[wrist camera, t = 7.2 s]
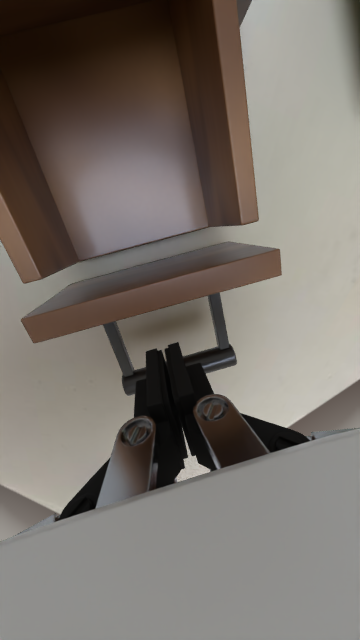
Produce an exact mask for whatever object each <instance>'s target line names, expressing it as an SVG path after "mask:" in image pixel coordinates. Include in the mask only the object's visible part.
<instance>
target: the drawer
mask: <svg viewBox="0 0 360 640" xmlns="http://www.w3.org/2000/svg"><path fill="white" fill-rule="evenodd" d="M258 220H259V217H258V207H257V197H256V188H255V178H254V168H253V158H252V148H251V138H250V128H249V118H248V108H247V99H246V89H245V79H244V69H243V59H242V49H241V39H240V29H239V19H238V10H237V0H1V1H0V240H1V241H2V243H3V245H4V247H5V249H6V251H7V253H8V255H9V257H10V259H11V261H12V263H13V265H14V267H15V268H16V270H17V272H18V274H19V276H20V278H21V280H22V282H23V283H29V282H33V281H37V280H40V279H43V278H45V277H47V276H50V275H52V274H54V273H56V272H58V271H60V270H63V269H65V268H67V267H69V266H71V265H73V264H76V263H78V262H80V261H84V260H88V259H92V258H95V257H99V256H103V255H107V254H110V253H114V252H118V251H122V250H125V249H129V248H133V247H137V246H140V245H144V244H148V243H152V242H155V241H159V240H163V239H167V238H170V237H174V236H178V235H182V234H185V233H189V232H193V231H197V230H200V229H204V228H208V227H219V226H238V225H245V224H249V223H253V222H257V221H258ZM281 274H282V273H281V259H280V249H276V248H269V247H262V246H255V245H248V244H241V243H234V242H225V243H222V244H218V245H214V246H210V247H207V248H203V249H199V250H196V251H192V252H188V253H185V254H181V255H177V256H173V257H170V258H166V259H162V260H159V261H155V262H151V263H147V264H144V265H140V266H136V267H133V268H129V269H125V270H122V271H118V272H114V273H110V274H107V275H103V276H99V277H96V278H92V279H88V280H84V281H81V282H77V283H73V284H70V285H69V286H68V287H66V288H65V289H63V290H62V291H61V292H59V293H58V294H56V295H55V296H53V297H52V298H51V299H49V300H48V301H46V302H45V303H43V304H42V305H41V306H39V307H38V308H36V309H35V310H34V311H32V312H31V313H29V314H28V315H26V316H25V317H24V318H22V319H21V322H22V323H23V325H24V327H25V329H26V331H27V332H28V334H29V336H30V338H31V339H32V341H33V343H38V342H42V341H45V340H49V339H53V338H56V337H60V336H63V335H67V334H71V333H74V332H78V331H82V330H85V329H89V328H92V327H96V326H100V325H103V326H104V328H105V331H106V333H107V336H108V338H109V341H110V343H111V345H112V348H113V350H114V353H115V355H116V358H117V360H118V362H119V365H120V367H121V370H122V372H123V375H122V384H123V388H124V391H125V393H126V395H128V396H130V395H133V394H135V389H136V381H138V380H141V379H145V378H146V367H144V368H141V369H137V370H134V367H133V365H132V362H131V360H130V357H129V354H128V352H127V349H126V347H125V344H124V341H123V339H122V336H121V334H120V331H119V328H118V326H117V323H116V321H118V320H121V319H125V318H129V317H132V316H136V315H139V314H143V313H147V312H150V311H154V310H157V309H161V308H165V307H168V306H172V305H176V304H179V303H183V302H186V301H190V300H194V299H197V298H201V297H204V296H208V301H209V306H210V311H211V316H212V320H213V325H214V330H215V335H216V340H217V345H218V347H215V348H211V349H208V350H204V351H201V352H197V353H194V354H190V355H186V356H183V359H184V362H185V366H189V365H192V364H196V363H199V362H200V363H201V365H202V367H203V369H204V372H205V374H206V373H210V372H213V371H217V370H220V369H224V368H227V367H231V366H234V365H236V364H237V360H236V355H235V352H234V350H233V347H232V346H231V344H229V342H228V336H227V331H226V325H225V320H224V315H223V309H222V304H221V298H220V293H219V292H223V291H226V290H230V289H233V288H237V287H241V286H244V285H248V284H252V283H255V282H259V281H262V280H266V279H270V278H273V277H277V276H280V275H281ZM165 362H166V366H167V361H165ZM167 369H168V366H167ZM168 372H169V371H168Z"/></svg>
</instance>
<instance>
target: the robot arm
mask: <svg viewBox="0 0 360 640" xmlns="http://www.w3.org/2000/svg"><path fill="white" fill-rule="evenodd" d="M165 354H166V360H167V366H168V369H167V366H166V362H165V359H164V356H163V353H162V350H159V351H158V350H157V348H156V349H153V350H149V351H146V378H145V379H141V380H138V381H136V389H135V407H134V418H132V419H131V420H129V421H127V422H126V423H125V424H124V425H123V426H122V427H121V429H120V430H119V432H118V434H117V437H116V441H115V444H114V447H113V451H112V454H111V457H110V458H109V460H108V461H107V462H106V463H105V464H104V465H103V466H102V467H101V468H100V469H99V470H98V471H97V473H96V474H95V475H94V476H93V477H92V478H91V479H90V480H89V481H88V482H87V483H86V484H85V486H84V487H83V488H82V489H81V490H80V491H79V492H78V493H77V494H76V495H75V496H74V497H73V499H72V500H71V501H70V502H69V503H68V504H67V506H66V507H65V508H64V510H63V511H62V513H61V515H59V516H57V514H56V513H55V514H53V515H51V516H50V517H48V518H46V519H44V520H42V521H40V522H38V523H37V524H35V525H33V526H31V527H29V528H28V529H26V530H24V531H22V532H20V533H18V534H17V535H15V536H13V537H11V538H8V539H6V540H3V541H0V640H360V428H354V429H342V430H331V431H319V432H311V436H304V435H303V434H301V433H299V432H296V431H294V430H291V429H288V428H285V427H281V426H278V425H275V424H272V423H269V422H266V421H263V420H260V419H257V418H254V417H251V416H248V415H244V414H241V413H239V411H238V410H237V409H236V407H235V406H234V405H233V403H232V402H231V401H230V400H229V399H228V398H227V397H225V396H223V395H218V394H214V392H213V390H212V388H211V385H210V383H209V381H208V379H207V376H206V374H205V372H204V369H203V367H202V365H201V363H200V362H199V363H196V364H192V365H189V366H185V362H184V359H183V356H182V353H181V349H180V346H179V343H178V342H177V343H173V344H170V345H168V348H166V349H165ZM168 371H169V372H168ZM182 428H183V429H182ZM183 431H184V434H185V437H186V440H187V443H188V446H189V449H190V452H191V455H192V456H195V455H196V457H197V461H198V463H199V464H201V465H203V466H205V467H207V468H209V469H210V472H209V473H206V474H202V475H199V476H196V477H193V478H190V479H187V480H184V481H180V482H177V478H176V477H177V475H178V474H179V472H180V471H181V469H184V468H185V466H184V460H183V459H185V458H188V455H187V450H186V445H185V439H184V434H183Z"/></svg>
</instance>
